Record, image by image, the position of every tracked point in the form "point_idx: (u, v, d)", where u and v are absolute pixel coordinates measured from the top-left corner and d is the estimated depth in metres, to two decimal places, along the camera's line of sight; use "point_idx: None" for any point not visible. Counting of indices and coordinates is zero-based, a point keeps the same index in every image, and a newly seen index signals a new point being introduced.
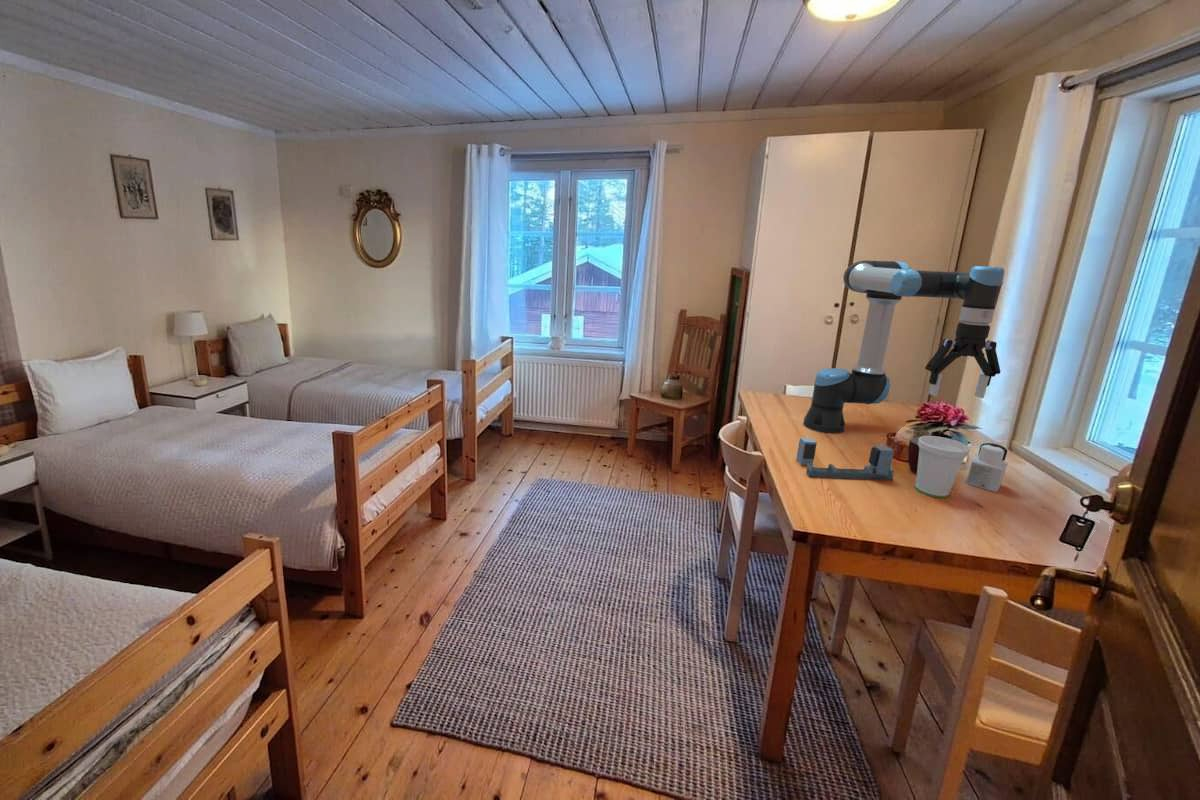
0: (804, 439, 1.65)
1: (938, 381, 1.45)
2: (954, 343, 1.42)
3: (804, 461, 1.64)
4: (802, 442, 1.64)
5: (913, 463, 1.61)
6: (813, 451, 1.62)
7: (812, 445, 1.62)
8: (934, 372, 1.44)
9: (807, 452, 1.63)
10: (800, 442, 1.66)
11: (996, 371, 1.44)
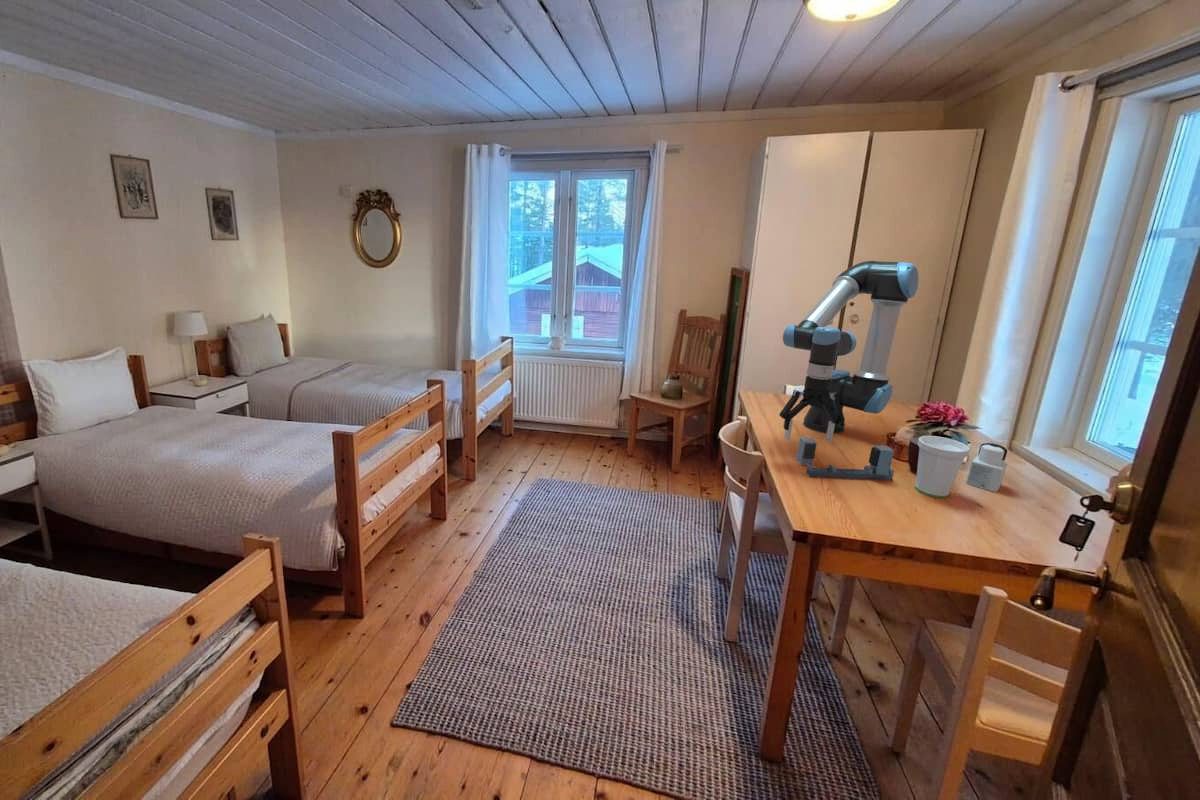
0: (804, 439, 1.65)
1: (789, 427, 1.61)
2: (802, 394, 1.59)
3: (804, 461, 1.64)
4: (802, 442, 1.64)
5: (913, 463, 1.61)
6: (813, 451, 1.62)
7: (812, 445, 1.62)
8: (786, 419, 1.61)
9: (807, 452, 1.63)
10: (800, 442, 1.66)
11: (841, 419, 1.61)
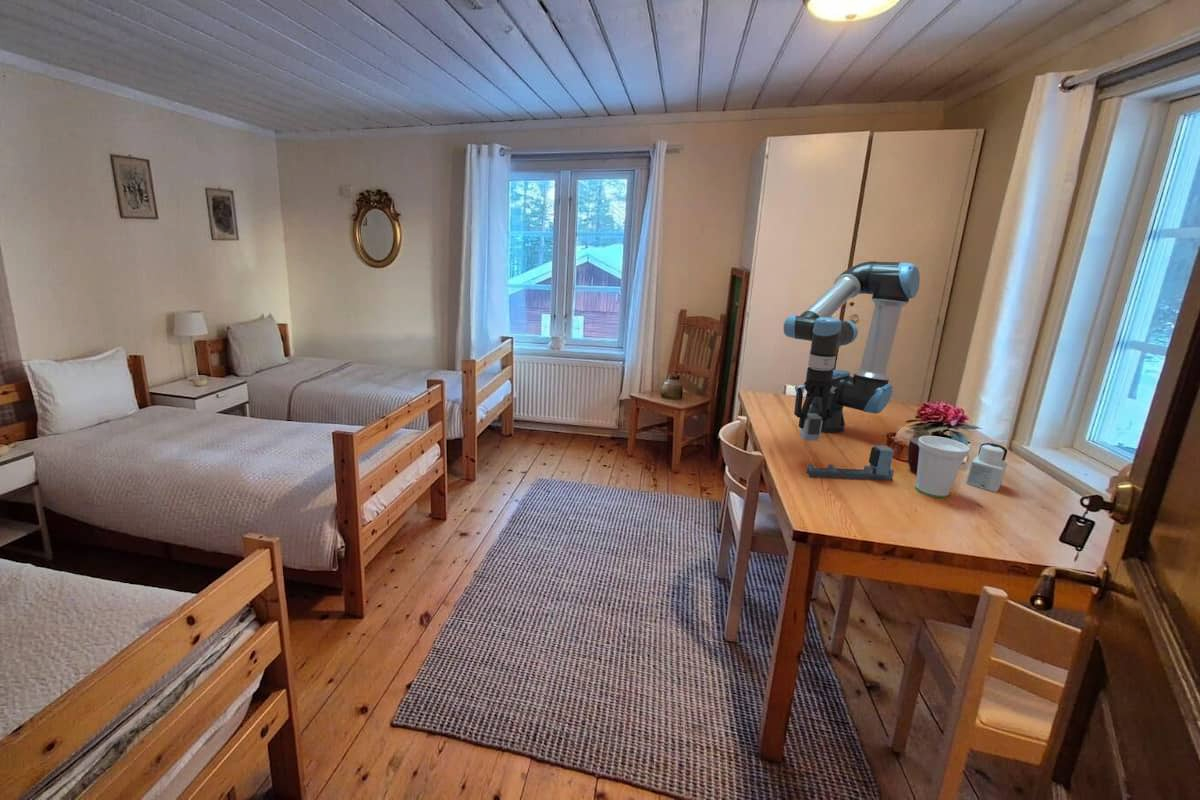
0: (809, 415, 1.62)
1: (804, 426, 1.62)
2: (804, 388, 1.59)
3: (808, 437, 1.62)
4: (807, 418, 1.62)
5: (913, 463, 1.61)
6: (818, 426, 1.60)
7: (817, 420, 1.60)
8: (801, 418, 1.62)
9: (812, 428, 1.60)
10: None
11: (829, 415, 1.61)
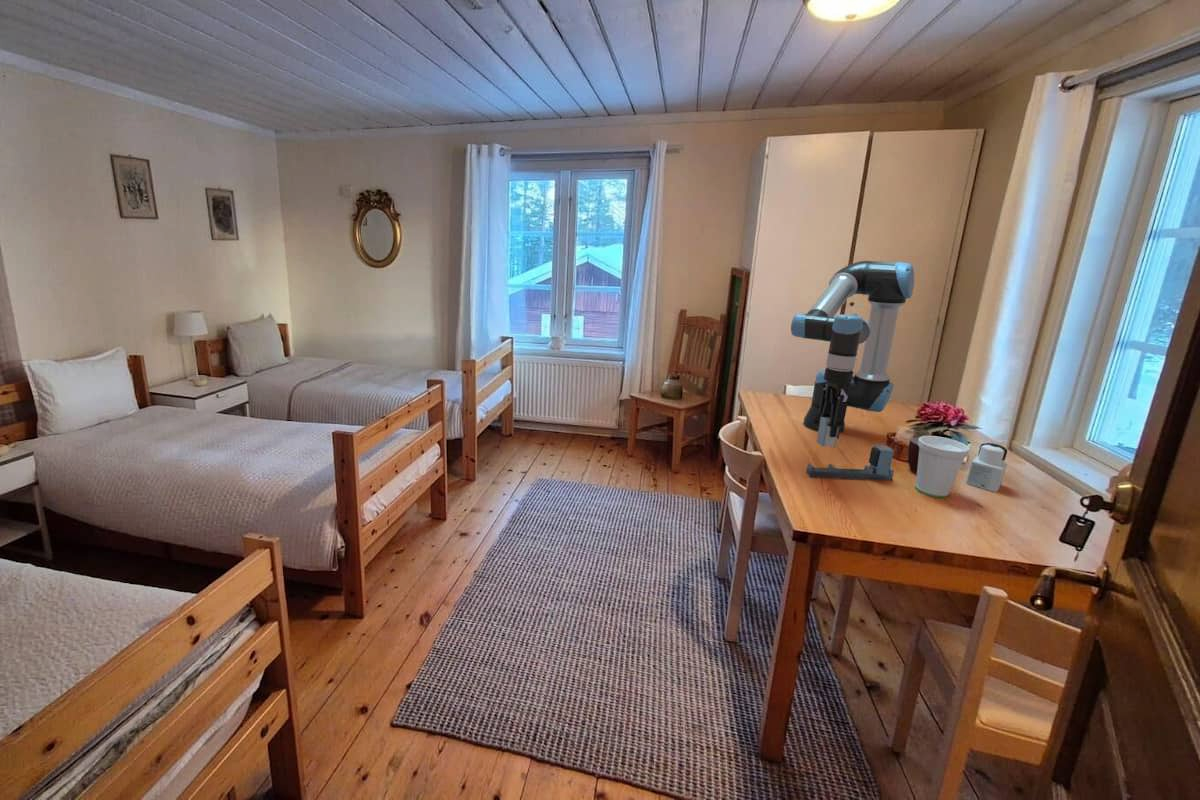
0: None
1: (836, 433, 1.50)
2: None
3: None
4: None
5: (913, 463, 1.61)
6: None
7: None
8: None
9: None
10: None
11: None
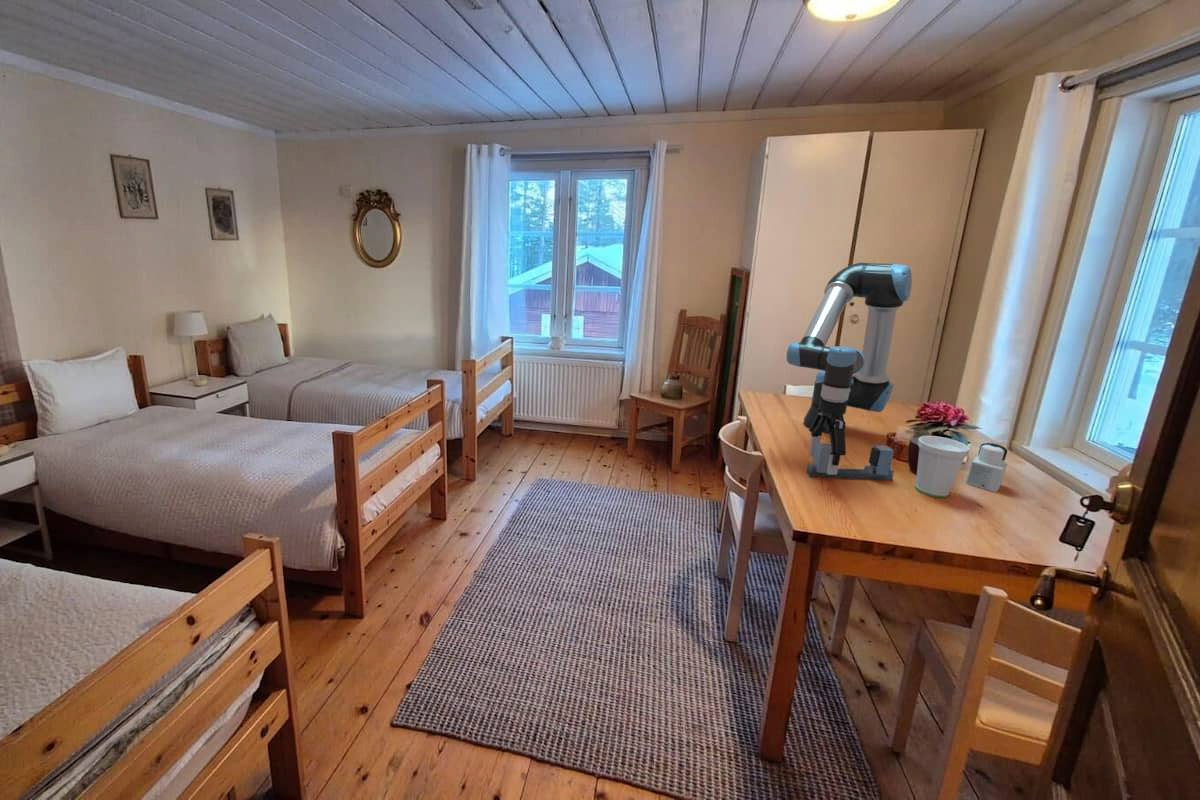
0: (826, 447, 1.53)
1: None
2: None
3: None
4: (829, 450, 1.52)
5: (913, 463, 1.61)
6: None
7: None
8: (840, 454, 1.46)
9: None
10: (824, 452, 1.53)
11: None
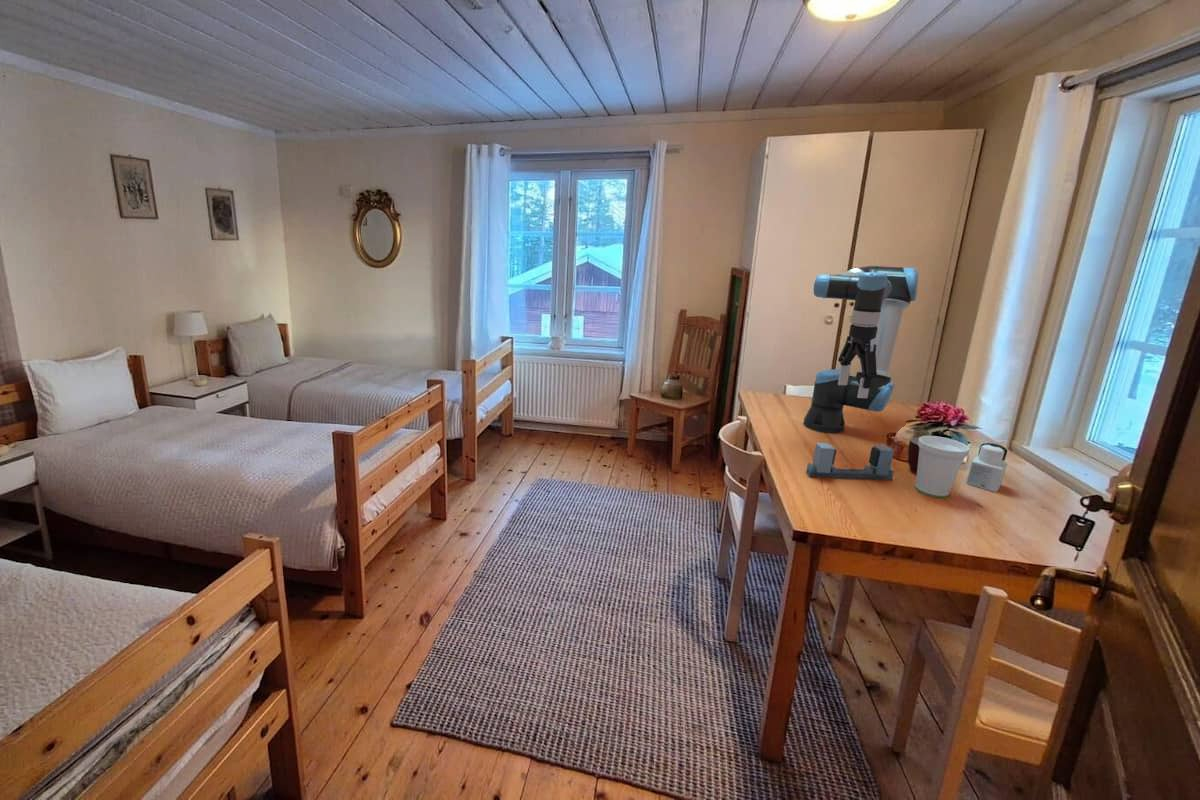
0: (826, 447, 1.53)
1: None
2: None
3: None
4: (829, 450, 1.52)
5: (913, 463, 1.61)
6: None
7: None
8: (871, 377, 1.50)
9: None
10: (824, 452, 1.53)
11: None
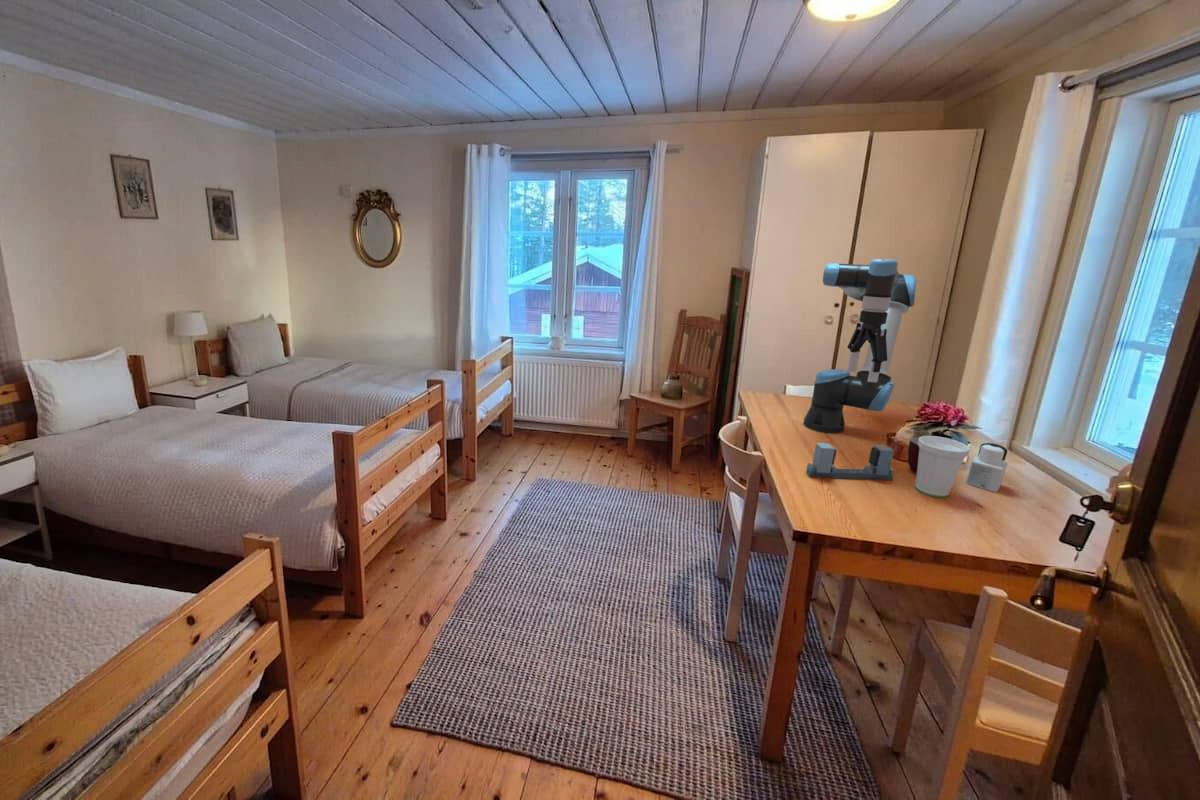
0: (826, 447, 1.53)
1: None
2: None
3: None
4: (829, 450, 1.52)
5: (913, 463, 1.61)
6: None
7: None
8: (881, 361, 1.53)
9: None
10: (824, 452, 1.53)
11: None
